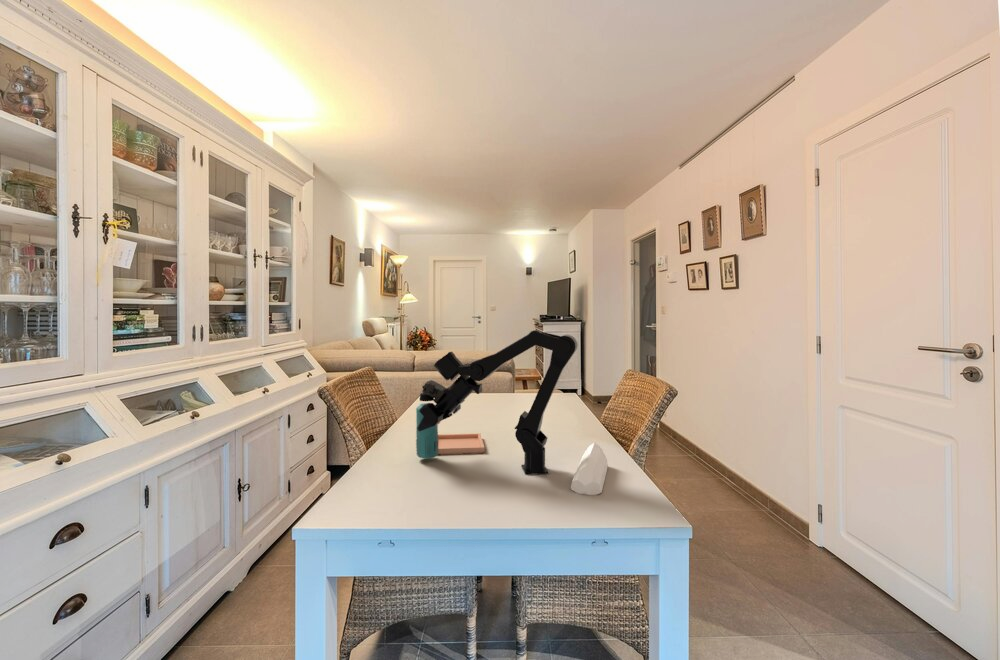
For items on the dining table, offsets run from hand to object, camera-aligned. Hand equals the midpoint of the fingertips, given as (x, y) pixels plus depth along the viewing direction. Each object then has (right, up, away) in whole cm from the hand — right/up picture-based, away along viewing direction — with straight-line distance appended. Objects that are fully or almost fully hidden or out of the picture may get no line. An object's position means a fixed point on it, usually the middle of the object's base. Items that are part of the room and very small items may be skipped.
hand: (422, 427), depth 131 cm
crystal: (+47, -11, -14) cm, 50 cm away
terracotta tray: (+9, -9, +14) cm, 19 cm away
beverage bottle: (+1, -10, 0) cm, 10 cm away
